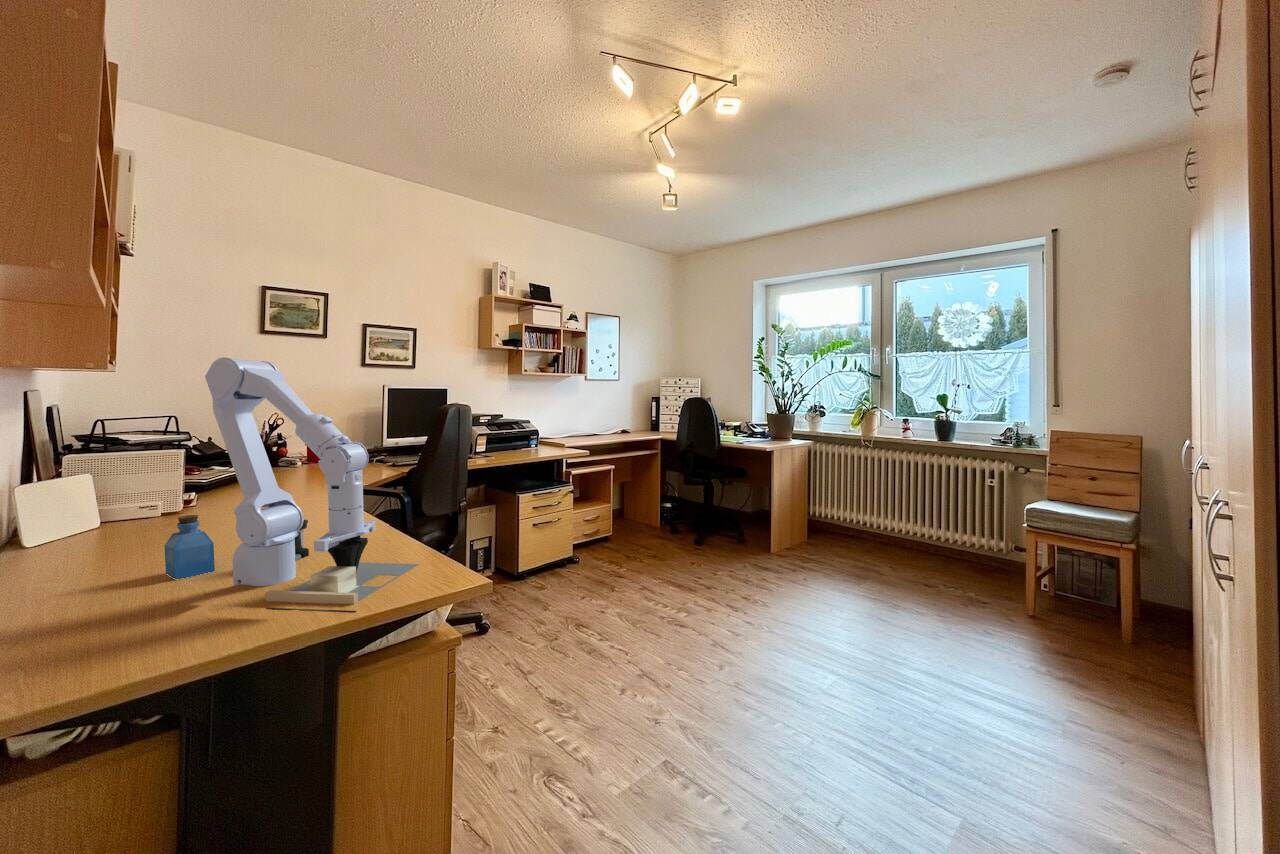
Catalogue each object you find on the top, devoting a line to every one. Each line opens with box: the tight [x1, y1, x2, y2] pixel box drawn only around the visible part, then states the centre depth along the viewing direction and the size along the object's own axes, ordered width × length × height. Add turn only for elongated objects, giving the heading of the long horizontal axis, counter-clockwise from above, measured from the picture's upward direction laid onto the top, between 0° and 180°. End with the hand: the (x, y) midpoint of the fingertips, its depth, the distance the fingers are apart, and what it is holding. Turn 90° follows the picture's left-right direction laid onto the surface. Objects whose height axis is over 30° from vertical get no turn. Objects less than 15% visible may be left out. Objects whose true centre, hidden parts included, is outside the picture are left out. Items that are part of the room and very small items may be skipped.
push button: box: [294, 519, 310, 562], centre depth 110 cm, size 7×5×10 cm
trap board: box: [265, 561, 420, 614], centre depth 95 cm, size 16×21×3 cm
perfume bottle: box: [164, 514, 216, 580], centre depth 104 cm, size 6×6×12 cm
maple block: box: [310, 565, 356, 593], centre depth 90 cm, size 5×5×4 cm
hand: (348, 578), depth 94 cm, fingers closed
